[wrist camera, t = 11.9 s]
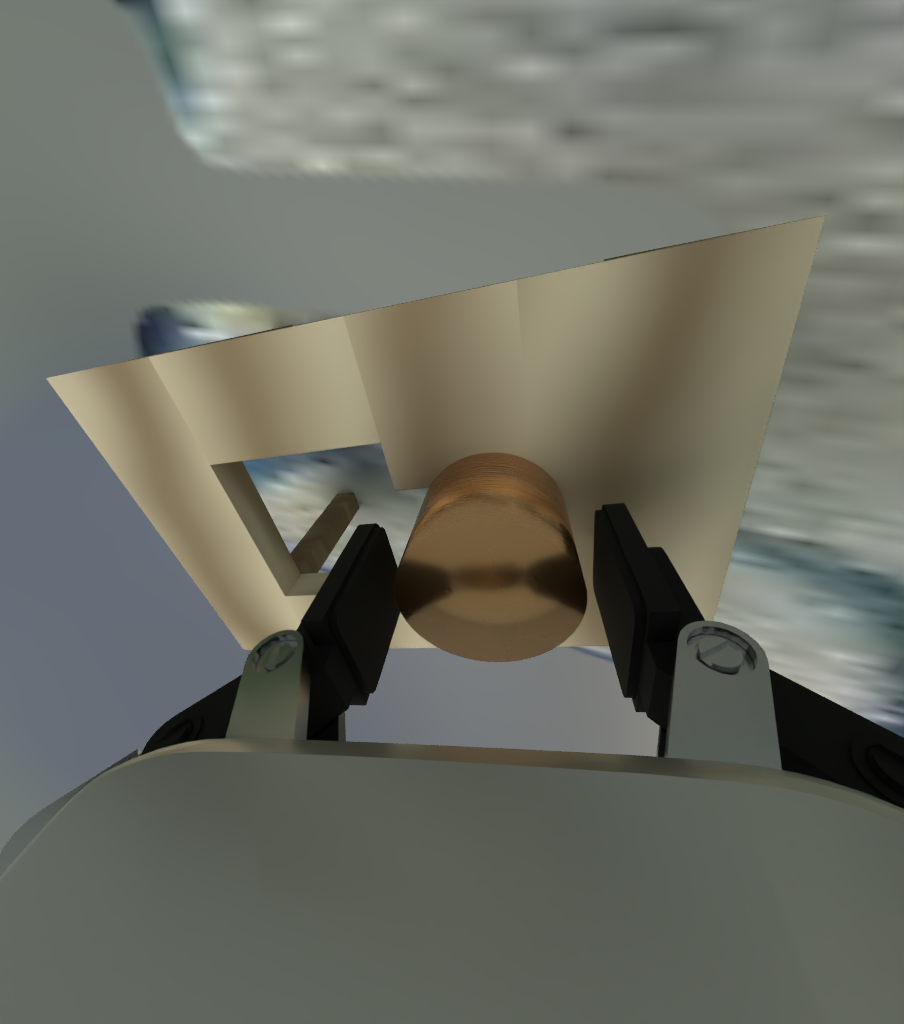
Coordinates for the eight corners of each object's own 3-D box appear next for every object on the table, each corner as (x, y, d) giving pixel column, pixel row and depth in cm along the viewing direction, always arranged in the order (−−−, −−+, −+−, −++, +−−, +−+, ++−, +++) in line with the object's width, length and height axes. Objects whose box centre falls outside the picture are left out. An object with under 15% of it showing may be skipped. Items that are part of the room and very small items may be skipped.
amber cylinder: (540, 372, 19) (589, 514, 8) (544, 458, 22) (586, 662, 10) (449, 387, 20) (371, 531, 9) (463, 467, 23) (417, 661, 11)
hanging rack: (633, 253, 19) (825, 215, 8) (618, 484, 27) (706, 644, 15) (271, 329, 24) (46, 378, 12) (342, 509, 31) (243, 649, 19)
